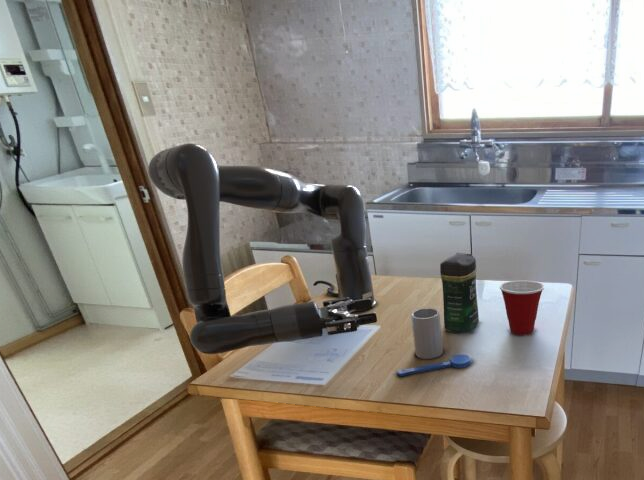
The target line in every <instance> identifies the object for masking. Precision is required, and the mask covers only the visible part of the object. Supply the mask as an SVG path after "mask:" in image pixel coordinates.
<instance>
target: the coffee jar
mask: <svg viewBox="0 0 644 480" xmlns="http://www.w3.org/2000/svg"><path fill="white" fill-rule="evenodd" d="M439 271H440V278H441V285H442V299H443V300H442V301H443V302H442V303H443V327H444V329H445V330H446V331H448V332H451V333H453V334H462V333H469V332H471V331H472V330H474V329H475V328H476V327H477V325H478V324H479V322H480V317H479V307H478V293H477V260H476V257H475V256H474V255H473V254H472V253H465V252H456V253H455V254H453V255H451V256H449V257H447V258H446V259H445V260H443V261H441V263H440V266H439Z"/></svg>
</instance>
